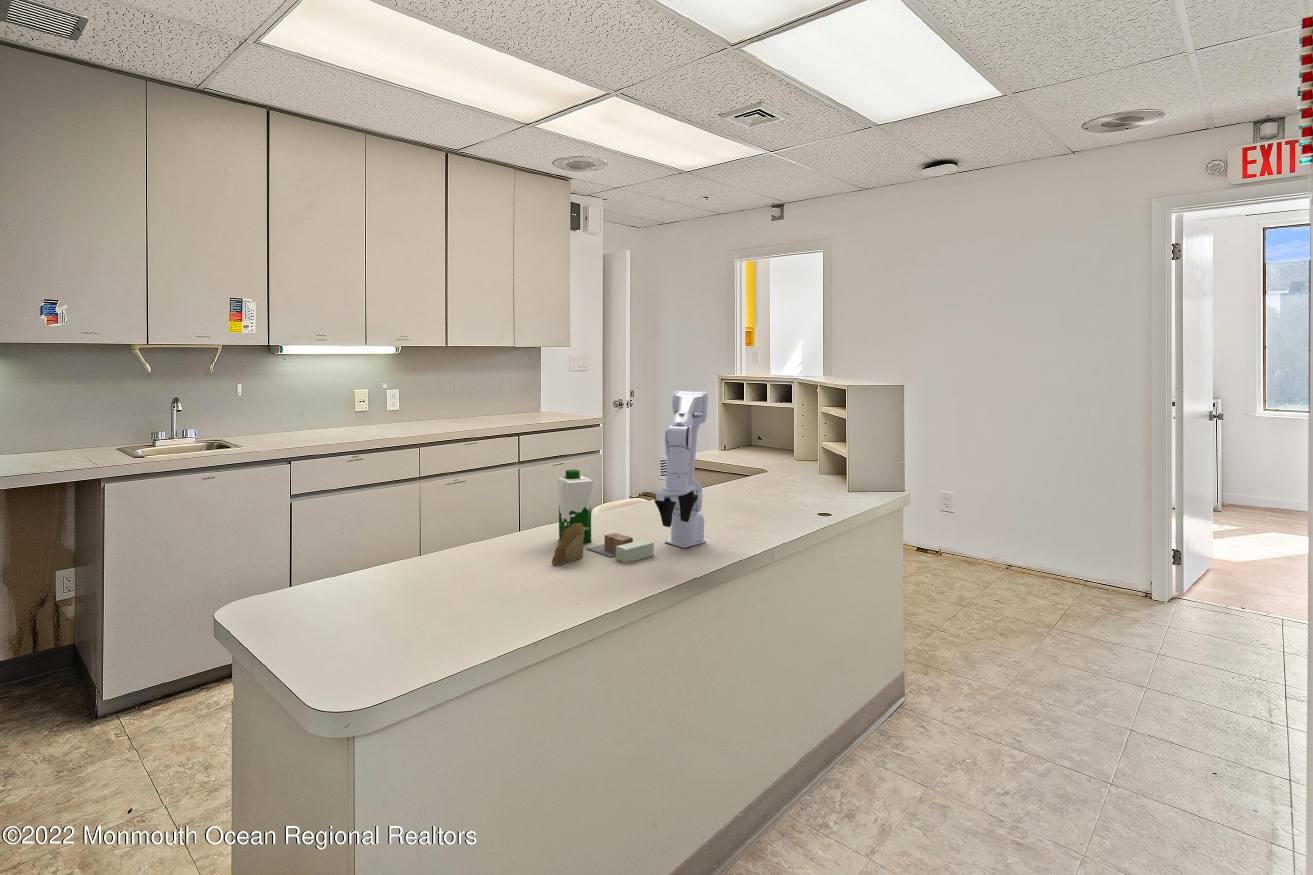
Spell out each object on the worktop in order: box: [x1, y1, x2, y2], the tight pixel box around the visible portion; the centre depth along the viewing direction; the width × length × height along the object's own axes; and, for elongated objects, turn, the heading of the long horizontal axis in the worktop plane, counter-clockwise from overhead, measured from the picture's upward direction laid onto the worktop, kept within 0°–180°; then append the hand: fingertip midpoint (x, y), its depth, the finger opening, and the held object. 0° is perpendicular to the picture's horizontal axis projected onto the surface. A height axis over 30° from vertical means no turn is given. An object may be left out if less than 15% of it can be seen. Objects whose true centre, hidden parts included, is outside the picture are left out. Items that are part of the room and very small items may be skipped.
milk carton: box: [557, 469, 594, 544], centre depth 196 cm, size 9×9×20 cm
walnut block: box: [603, 532, 634, 553], centre depth 187 cm, size 4×4×7 cm
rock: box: [550, 523, 584, 566], centre depth 178 cm, size 11×9×10 cm
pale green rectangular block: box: [615, 539, 655, 564], centre depth 182 cm, size 10×4×4 cm, turn 135°
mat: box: [586, 543, 616, 558], centre depth 189 cm, size 11×10×1 cm
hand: (675, 523), depth 179 cm, fingers open, 7 cm apart
